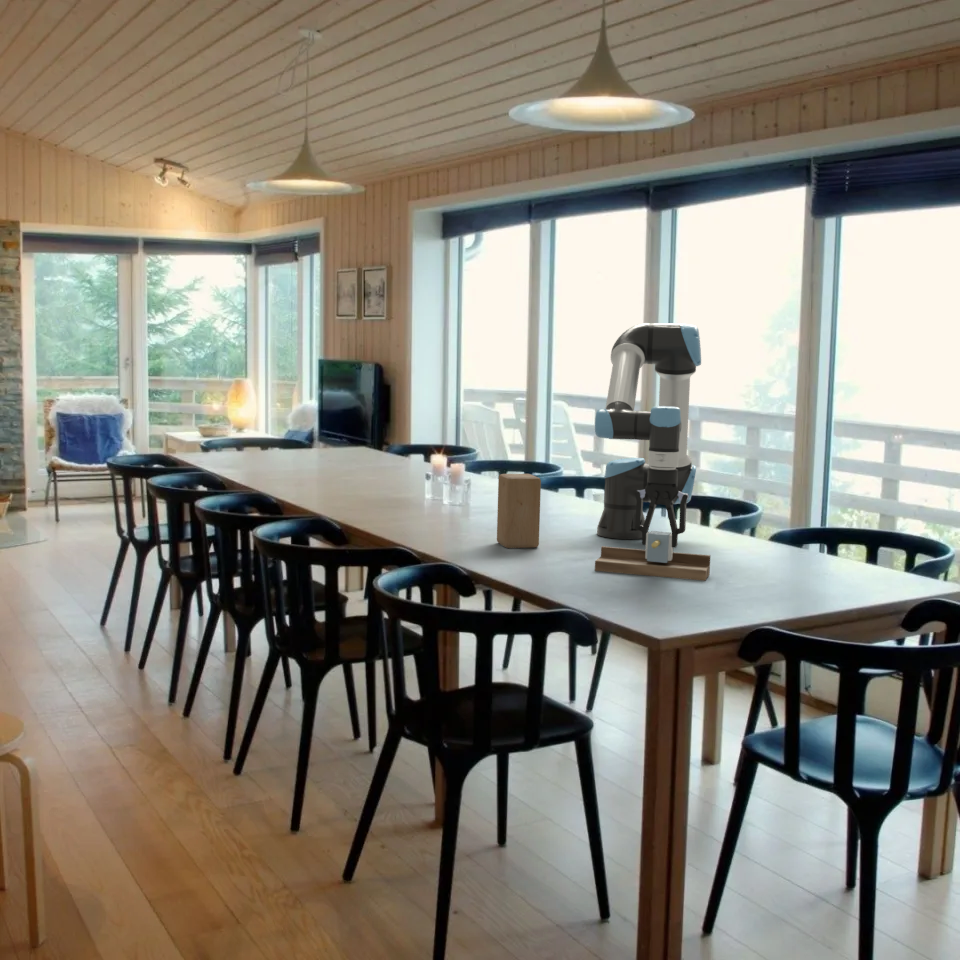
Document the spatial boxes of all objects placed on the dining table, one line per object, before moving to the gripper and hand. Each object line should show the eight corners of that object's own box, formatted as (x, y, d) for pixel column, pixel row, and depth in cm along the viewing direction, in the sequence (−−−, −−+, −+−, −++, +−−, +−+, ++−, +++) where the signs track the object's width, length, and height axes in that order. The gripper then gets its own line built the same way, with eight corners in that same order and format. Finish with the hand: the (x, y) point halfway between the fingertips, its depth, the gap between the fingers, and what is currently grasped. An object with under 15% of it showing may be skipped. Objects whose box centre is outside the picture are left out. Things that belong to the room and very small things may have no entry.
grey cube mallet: (650, 557, 293) (651, 530, 292) (670, 559, 291) (671, 532, 291) (643, 564, 284) (644, 536, 283) (663, 566, 282) (664, 538, 281)
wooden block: (505, 549, 318) (507, 477, 315) (495, 542, 327) (497, 473, 325) (539, 548, 321) (542, 477, 318) (528, 541, 330) (531, 473, 328)
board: (601, 564, 299) (602, 546, 299) (709, 574, 291) (710, 555, 290) (594, 570, 292) (595, 551, 291) (705, 580, 283) (706, 560, 282)
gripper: (624, 467, 286) (620, 558, 289) (696, 471, 281) (692, 564, 284) (630, 464, 293) (626, 553, 296) (701, 468, 288) (696, 559, 291)
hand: (658, 558), depth 290 cm, fingers closed on grey cube mallet, 5 cm apart
